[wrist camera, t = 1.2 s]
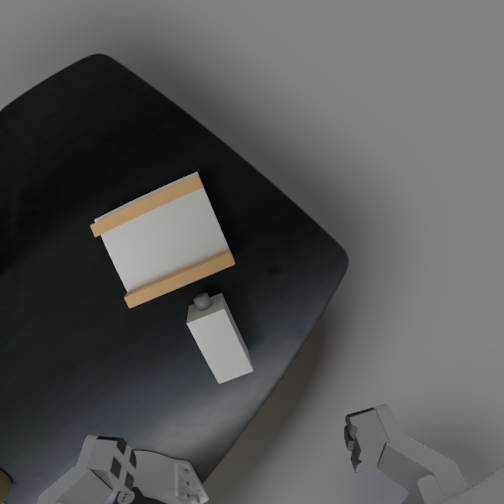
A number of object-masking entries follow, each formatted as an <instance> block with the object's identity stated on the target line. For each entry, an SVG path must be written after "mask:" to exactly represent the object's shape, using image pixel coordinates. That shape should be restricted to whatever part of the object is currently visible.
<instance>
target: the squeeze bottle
mask: <svg viewBox="0 0 504 504" xmlns="http://www.w3.org/2000/svg"><path fill="white" fill-rule="evenodd" d="M9 491H10V478H9V477H8V476H7V475H6V474H5V473H4V472H3V471H1V470H0V504H2V502H3V501H4V499H5V498H6V496H7V495H8V493H9Z"/></svg>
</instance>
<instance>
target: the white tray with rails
mask: <svg viewBox="0 0 504 504" xmlns="http://www.w3.org/2000/svg"><path fill="white" fill-rule="evenodd" d="M94 221H95V223H94V224H92V225H90V226H91V229H92V231H93V233H94V236H95V237H97V236H99V235H101V237H102V239H103V242H104V244H105V246H106V248H107V250H108V253H109V255H110V257H111V259H112V261H113V263H114V266H115V268H116V270H117V272H118V274H119V276H120V278H121V280H122V282H123V284H124V286H125V288H126V290H127V292H128V293H127V294H126V295H125V297H124V299H125V301H126V303H127V304H128V306H129V308H132V307H134V306H137V305H139V304H141V303H144V302H146V301H149V300H151V299H153V298H156V297H158V296H161V295H163V294H165V293H168V292H170V291H173V290H175V289H177V288H180V287H182V286H185V285H187V284H189V283H192V282H194V281H197V280H199V279H201V278H204V277H206V276H208V275H211V274H213V273H216V272H218V271H220V270H223V269H225V268H228V267H230V266H232V265H235V262H234V259H233V256H232V254H231V252H230V249H229V247H228V244H227V242H226V240H225V237H224V235H223V232H222V230H221V228H220V225H219V223H218V221H217V218H216V216H215V213H214V211H213V208H212V206H211V204H210V201H209V199H208V196H207V194H206V191H205V189H204V187H203V184H202V182H201V179H200V177H199V174H198V172H195V173H193V174H191V175H188V176H186V177H184V178H181V179H179V180H177V181H175V182H172V183H170V184H168V185H166V186H163V187H161V188H159V189H157V190H154V191H152V192H150V193H148V194H146V195H144V196H142V197H139V198H137V199H135V200H133V201H131V202H129V203H127V204H125V205H123V206H121V207H119V208H117V209H115V210H113V211H111V212H109V213H107V214H105V215H103V216H101V217H99V218H97V219H95V220H94Z"/></svg>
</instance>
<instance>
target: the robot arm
mask: <svg viewBox="0 0 504 504" xmlns="http://www.w3.org/2000/svg"><path fill="white" fill-rule="evenodd" d="M345 421H346V424H347V425H346V426H345V428H344V437H345V442H346V446H347V449H348V450H349V451H351V452H352V454H351V462H352V465H353V468H354V471H355V473H357V472H361V471H364V470H368V469H372V468H375V467H377V468H378V469H379V470H381V471H382V472H383V473H384V474H386V475H387V476H388V477H390V478H391V479H392V480H394V481H395V482H396V483H398V484H399V485H401V486H402V487H403V488H405V489H406V490H407V491H409V492H410V493H409V494H408V496H407V497H406V498H405V500H404V501H403V503H402V504H504V467H503V468H502V469H500V470H499V471H497V472H496V473H494V474H492V475H491V476H490V477H488V478H486V479H484V480H483V481H481V482H479V483H478V484H476V485H474V486H472V487H471V488H468V486H467V484H466V483H465V480H464V479H463V477H462V474H461V472H460V471H459V469H458V467H457V465H456V463H455V462H454V461H452V460H450V459H448V458H446V457H445V456H443V455H441V454H439V453H437V452H435V451H433V450H431V449H430V448H428V447H426V446H424V445H423V444H421V443H419V442H417V441H415V440H413V439H412V438H410V437H408V436H407V437H404V436H403V434H402V432H401V430H400V428H399V426H398V424H397V422H396V420H395V418H394V416H393V414H392V411H391V409H390V408H389V406H388V405H387V404H384V405H380V406H377V407H374V408H369V409H366V410H363V411H359V412H356V413H352V414H348V415H347V416H346V419H345ZM126 444H127V442H126V441H125V440H124V438H116V437H103V436H93V435H88V436H87V437H86V438H85V441H84V444H83V447H82V450H81V453H80V456H79V459H78V462H77V466H76V467H72V468H71V469H70V470H69V471H68V472H66V473H65V474H64V475H63V476H62V477H61V478H59V479H58V480H57V481H56V482H55V483H54V484H52V485H51V486H50V487H49V488H48V489H47V490H45V491H44V492H43V493H42V494H41V495H39V498H38V502H37V504H103V503H104V502H105V501H106V500H107V498H108V497H109V496H110V495H111V494H112V492H113V490H114V492H113V504H203V503H205V502H206V501H208V499H209V495H208V494H207V492H206V490H205V488H204V487H203V485H202V483H201V481H200V480H199V478H198V476H197V474H196V472H195V471H194V469H193V467H192V465H191V463H190V462H188V461H184V460H177V459H172V458H169V457H166V456H164V455H161V454H158V453H154V452H149V451H133V450H132V449H131V448H130V447H128V446H126Z"/></svg>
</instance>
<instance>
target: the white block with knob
mask: <svg viewBox="0 0 504 504" xmlns="http://www.w3.org/2000/svg"><path fill="white" fill-rule="evenodd" d="M193 300H194V302H195V304H193V305H190V306H189V309H188V317H187V325H188V327H189V329H190V331H191V333H192V335H193V337H194V339H195V341H196V342H197V344H198V346H199V348H200V350H201V352H202V354H203V356H204V357H205V359H206V361H207V363H208V365H209V367H210V368H211V370H212V372H213V374H214V376H215V377H216V379H217V381H218V383H219V384H220V383H223V382H226V381H229V380H231V379H234V378H237V377H239V376H242V375H245V374H247V373H250V372H253V368H252V364H251V360H250V356H249V353H248V350H247V347H246V345H245V343H244V341H243V339H242V337H241V334H240V332H239V330H238V328H237V326H236V324H235V321H234V319H233V317H232V315H231V313H230V310H229V308H228V306H227V304H226V301H225V299H224V297H223V295H222V293H220V294H218V295H215V296H213V297H210V298H209V296H208V294H207V293H202V294H199V295H197V296H196V297H194V299H193Z"/></svg>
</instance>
